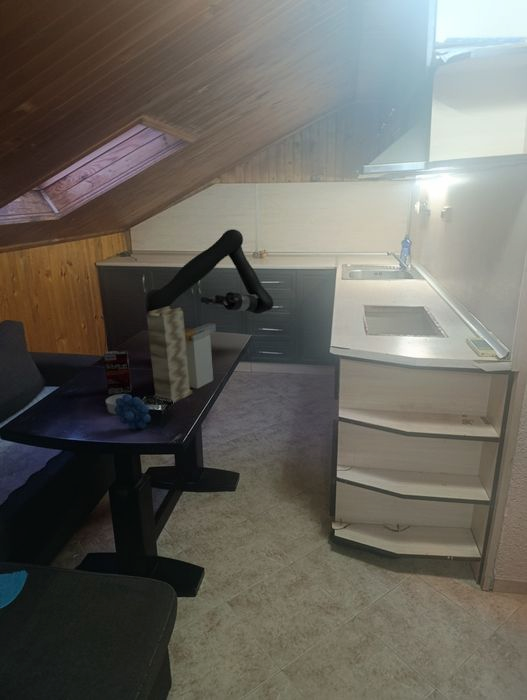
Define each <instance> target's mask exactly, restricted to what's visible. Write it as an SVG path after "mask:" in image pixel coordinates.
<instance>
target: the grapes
mask: <svg viewBox="0 0 527 700" xmlns="http://www.w3.org/2000/svg"><path fill="white" fill-rule="evenodd" d="M124 394H125V395H123V397H122V398H123V399H122V398H118V399H116V405H117V407H115V409H114V411H115V413H116V414H115V415H118V416H119V417H118V418H119V421H120V423H121V424H124V425H128V427H129V428H130V429H132V430H136V429H137V428H140V429H146V427H147V423H149V422H151V420H152V418H151V416H150V414H149V412H150V408H149V405H147V404H145V403H144V404H143V402H142V400H141V398H140V397H138V396H134V397H132V395H131V396H130V394H129V393H128V394H127V393H124Z"/></svg>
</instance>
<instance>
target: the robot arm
mask: <svg viewBox="0 0 527 700" xmlns="http://www.w3.org/2000/svg"><path fill="white" fill-rule="evenodd" d="M243 242H244V239H243V234H242V232H240V231H239V230H238V229H234V228H233V229H228V230H226V231H224V233H222V235H221V237H220V238H218V240H216V241H215V242H214V243H213V244H212V245H211V246H210V247H208V248H207V249H204V251H202V252H200V253H198V255H196V256H194V257H193V258H192V259H190V260H189V261H188V262H187V263H185V265H183V266H182V267H181V268H180V269H179V270H178V272H177V273H176V274H175V276H174V277H173V278H172V279H171V280H170V281H169V282H168V283H167V284H165V285H164V286H163V287H162V288H160V289H158V288H157V289H155V288H154V289H151V290H150V291H148V292H147V294H146V296H145V307H146V313H147V314H148V312H150V311H153V310H157V309H160V308H164V307H167V306H169V307H170V306H171V305H172V304H173V303H174V302H175V301H177V299H178V298H179V297H180V296H181V295H183V294H184V293H186V292H187V291H189V290H190V289H191V288H192V287H193V286H195V285H196V284H197V283H199V282H200V281H201V280H203V279H204V278H205V277H206V276H207V275H208V274H210V272H211V271H212V270H213V269H215V268H216V266H218V264H220V262H221V261H223V260H224V259H225V258H226V257H229V258H230V260H231V262H232V263H233V265H234V267H235V269H236V271H237V274H238V275H239V277H240V280H241V281H242V283H243V284H242V285H244V288H245V290H246V292H247V294H244V293H239V292H231V291H229V292H226V294H224V295H220V294H219V295H218V294H215V295H214V296H213V297H210V296H209V297H205V296H202V297H200V302H201V303H202V304H205V305H213V306H221V307H224V308H225V309H226V310H229V311H237V312H242V311H243V312H250V313H252V314H257V315H258V314H263V313H265V312H268V311H271V310H273V308H274V301H273V298H272V297H271V295H270V293H269V292H268V291H267V290H266V289H265V288H264V287H263V285H262V284H261V281H260V279H259V277H258V276H257V273H256V272H255V270H254V268H253V267H252V265H251V264H250V262H249V261H248V259H247V256H246V255H245V253H244V250H243V247H242V245H243ZM254 295H255V296H257V297H255V296H254ZM147 314H146V315H147ZM149 350H150V349H149ZM150 353H151V350H150ZM150 360H151V362H152V359H151V358H150Z"/></svg>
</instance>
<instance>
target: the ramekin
mask: <svg viewBox="0 0 527 700" xmlns="http://www.w3.org/2000/svg"><path fill="white" fill-rule="evenodd" d="M125 394H126V393H116V394H113V395H111V396H109V397H107V398H106V399H105V404H106V408H107V411H108V413H109V412H110V413H109V414H111V413H113V414H112V415H117V414H116V413H115V411H114V409H115V407H117V405H116V399H118V398H122V397H123V395H125ZM129 395H130V394H129ZM130 396H131V397H132V395H130ZM122 399H123V398H122Z"/></svg>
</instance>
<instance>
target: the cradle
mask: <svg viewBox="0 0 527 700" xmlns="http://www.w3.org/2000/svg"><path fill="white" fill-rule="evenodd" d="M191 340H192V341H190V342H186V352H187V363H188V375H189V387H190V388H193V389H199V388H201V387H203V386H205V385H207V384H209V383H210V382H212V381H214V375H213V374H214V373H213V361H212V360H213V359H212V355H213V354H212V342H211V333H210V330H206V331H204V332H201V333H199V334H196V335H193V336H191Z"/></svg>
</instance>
